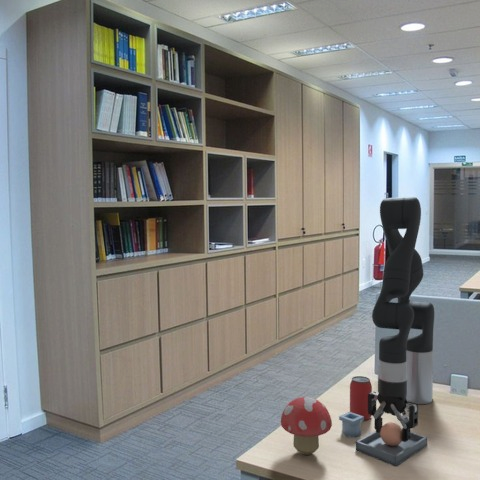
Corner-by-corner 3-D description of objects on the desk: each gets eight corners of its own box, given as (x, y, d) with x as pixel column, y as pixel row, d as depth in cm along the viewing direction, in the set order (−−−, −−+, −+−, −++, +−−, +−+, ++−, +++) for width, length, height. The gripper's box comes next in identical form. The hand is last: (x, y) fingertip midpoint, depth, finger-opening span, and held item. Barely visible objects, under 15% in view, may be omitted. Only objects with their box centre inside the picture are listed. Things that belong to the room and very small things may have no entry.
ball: (387, 437, 145) (388, 416, 144) (407, 444, 140) (407, 423, 140) (375, 444, 141) (376, 423, 140) (395, 452, 136) (396, 429, 136)
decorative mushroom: (331, 468, 130) (332, 409, 129) (278, 464, 132) (278, 406, 131) (331, 444, 143) (331, 390, 142) (283, 441, 146) (282, 388, 145)
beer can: (372, 421, 158) (372, 383, 157) (349, 420, 159) (350, 381, 158) (371, 413, 164) (371, 376, 164) (349, 411, 166) (349, 374, 165)
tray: (387, 432, 150) (388, 424, 150) (427, 446, 142) (427, 437, 141) (355, 450, 139) (355, 441, 139) (396, 466, 131) (396, 456, 131)
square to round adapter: (349, 427, 154) (349, 411, 153) (364, 433, 150) (364, 416, 150) (338, 433, 150) (338, 416, 150) (353, 439, 146) (353, 421, 146)
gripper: (424, 379, 137) (423, 440, 138) (376, 367, 147) (376, 424, 148) (409, 386, 131) (409, 449, 133) (361, 373, 142) (361, 432, 143)
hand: (391, 436), depth 140 cm, fingers open, 7 cm apart
